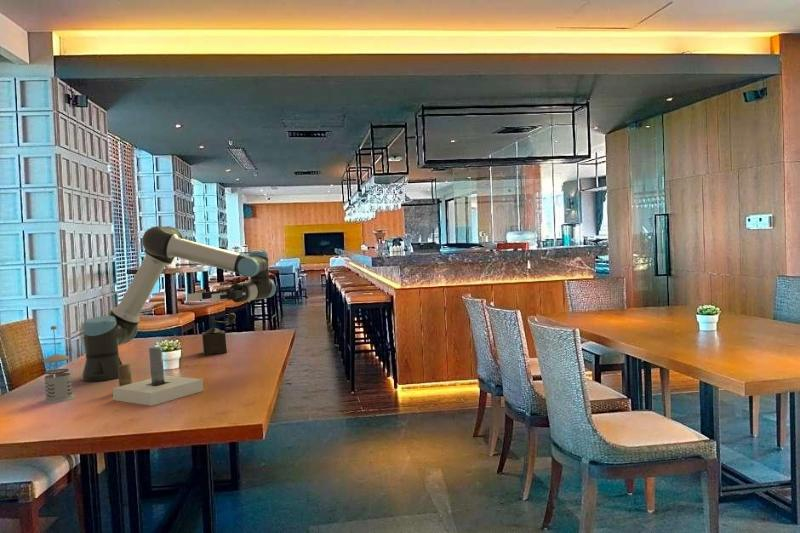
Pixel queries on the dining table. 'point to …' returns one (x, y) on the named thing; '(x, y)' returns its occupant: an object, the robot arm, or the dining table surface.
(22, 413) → the dining table surface
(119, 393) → the hole plate
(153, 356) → the metal pin
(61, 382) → the french press
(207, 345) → the dark block
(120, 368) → the walnut pin
